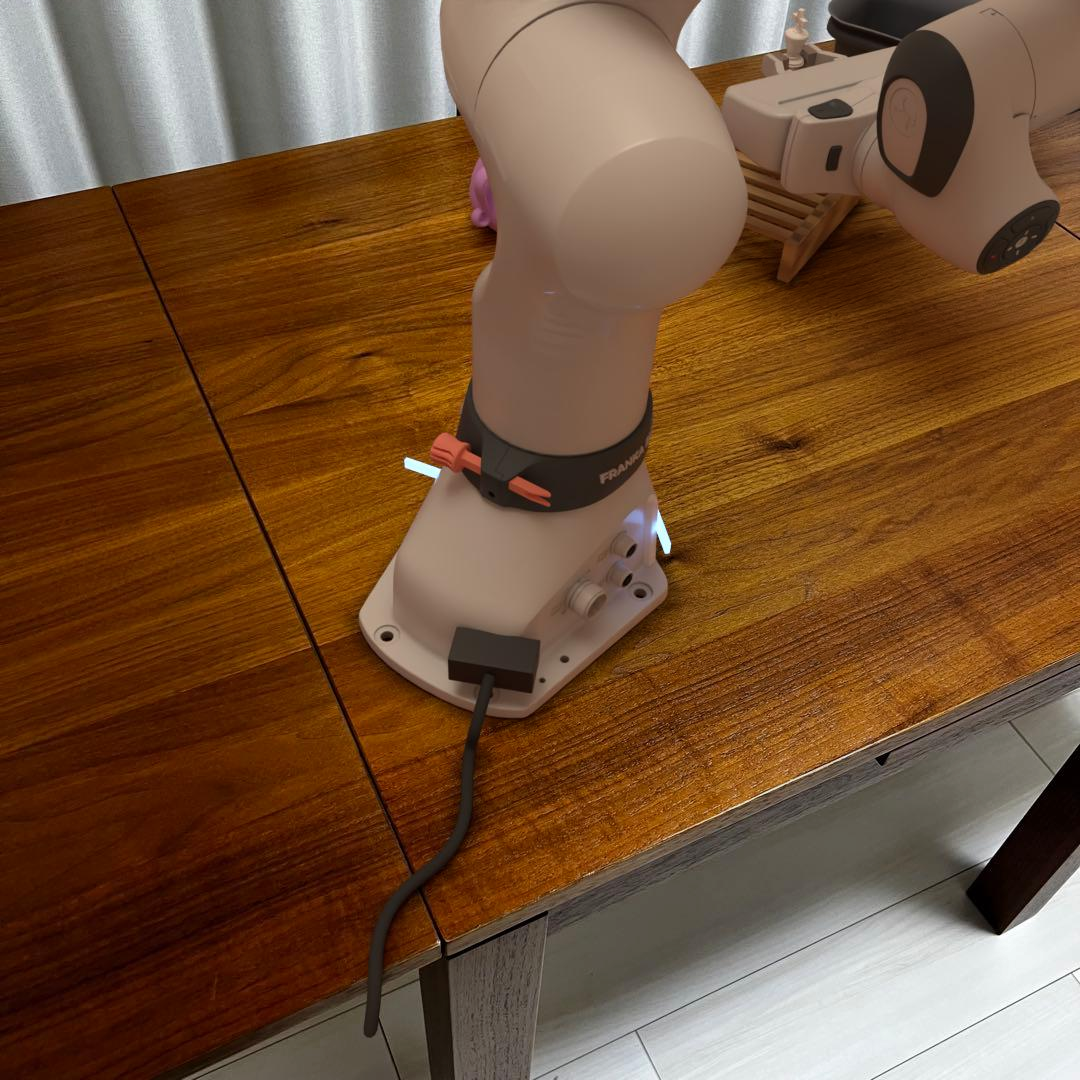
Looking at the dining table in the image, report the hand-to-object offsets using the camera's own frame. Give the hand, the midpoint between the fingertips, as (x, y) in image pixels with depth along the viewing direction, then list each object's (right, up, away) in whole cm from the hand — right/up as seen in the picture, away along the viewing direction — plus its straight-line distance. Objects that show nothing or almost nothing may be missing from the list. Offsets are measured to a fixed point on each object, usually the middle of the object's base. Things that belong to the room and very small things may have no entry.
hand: (785, 57), depth 103 cm
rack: (0, -11, +11) cm, 16 cm away
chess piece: (0, -4, +4) cm, 6 cm away
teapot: (-22, -11, +10) cm, 26 cm away
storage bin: (+16, -3, +19) cm, 25 cm away
